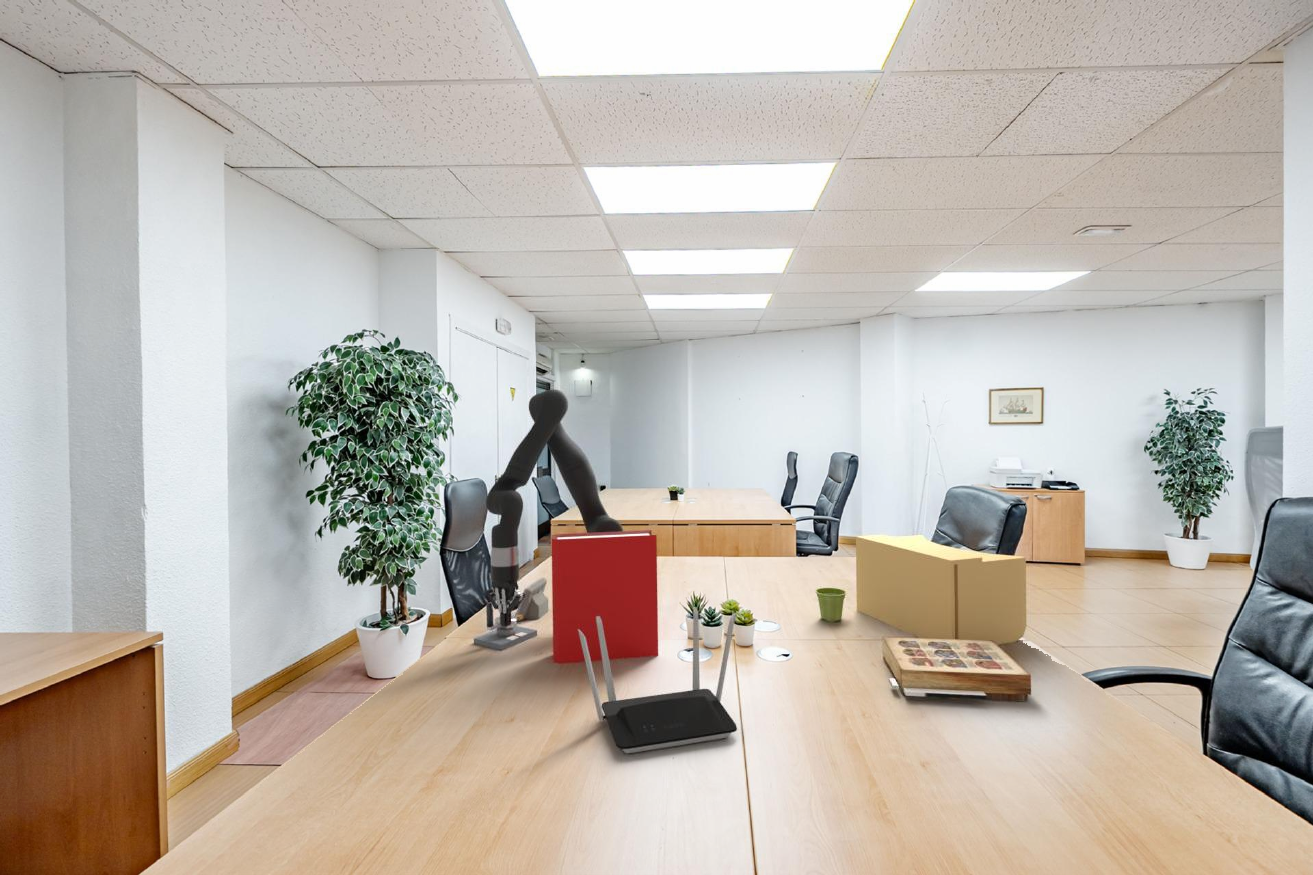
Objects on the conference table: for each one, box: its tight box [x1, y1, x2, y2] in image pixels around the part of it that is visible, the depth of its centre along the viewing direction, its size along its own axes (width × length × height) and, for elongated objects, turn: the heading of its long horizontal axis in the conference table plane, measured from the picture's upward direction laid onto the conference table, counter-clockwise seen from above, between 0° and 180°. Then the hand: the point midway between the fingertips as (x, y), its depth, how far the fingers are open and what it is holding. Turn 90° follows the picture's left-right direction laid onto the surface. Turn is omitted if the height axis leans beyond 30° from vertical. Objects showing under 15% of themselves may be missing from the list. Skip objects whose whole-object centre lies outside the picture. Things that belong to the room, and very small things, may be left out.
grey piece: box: [485, 601, 524, 632], centre depth 172 cm, size 6×13×8 cm, turn 149°
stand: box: [473, 625, 538, 651], centre depth 173 cm, size 11×14×4 cm
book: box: [551, 529, 659, 665], centre depth 160 cm, size 27×8×32 cm, turn 100°
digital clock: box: [514, 577, 549, 622], centre depth 196 cm, size 16×9×11 cm, turn 159°
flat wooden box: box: [881, 636, 1032, 702], centre depth 140 cm, size 25×6×28 cm
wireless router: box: [578, 606, 738, 754], centre depth 122 cm, size 34×23×20 cm
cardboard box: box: [855, 534, 1027, 646], centre depth 181 cm, size 40×26×24 cm, turn 18°
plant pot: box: [815, 587, 847, 622], centre depth 187 cm, size 9×9×9 cm
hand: (505, 625), depth 164 cm, fingers closed
